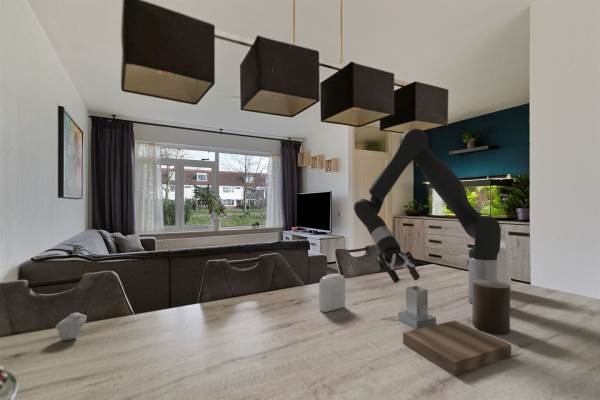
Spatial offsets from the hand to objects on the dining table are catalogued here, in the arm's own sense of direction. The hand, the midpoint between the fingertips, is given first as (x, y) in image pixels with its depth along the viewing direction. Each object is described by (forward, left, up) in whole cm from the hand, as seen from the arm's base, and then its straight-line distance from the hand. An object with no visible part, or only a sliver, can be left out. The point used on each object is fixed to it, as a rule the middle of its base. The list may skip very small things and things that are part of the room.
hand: (407, 280), depth 97 cm
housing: (0, +4, -13) cm, 13 cm away
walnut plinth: (+4, +21, -12) cm, 25 cm away
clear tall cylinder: (-56, -8, -13) cm, 58 cm away
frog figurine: (+98, -26, -13) cm, 102 cm away
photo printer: (+19, -17, -13) cm, 28 cm away
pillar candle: (-18, +16, -13) cm, 27 cm away
